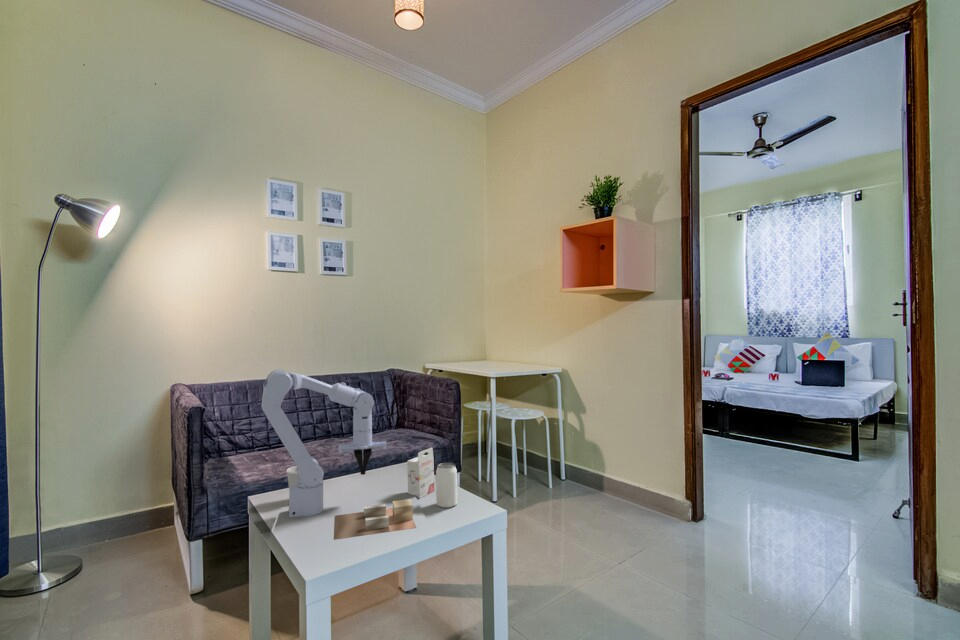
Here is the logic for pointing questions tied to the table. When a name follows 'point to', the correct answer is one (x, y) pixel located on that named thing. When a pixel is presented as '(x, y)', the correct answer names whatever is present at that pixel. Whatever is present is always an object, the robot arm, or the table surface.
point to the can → (446, 485)
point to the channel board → (368, 522)
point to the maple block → (402, 510)
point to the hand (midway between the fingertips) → (362, 473)
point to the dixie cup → (292, 476)
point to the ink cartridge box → (421, 474)
